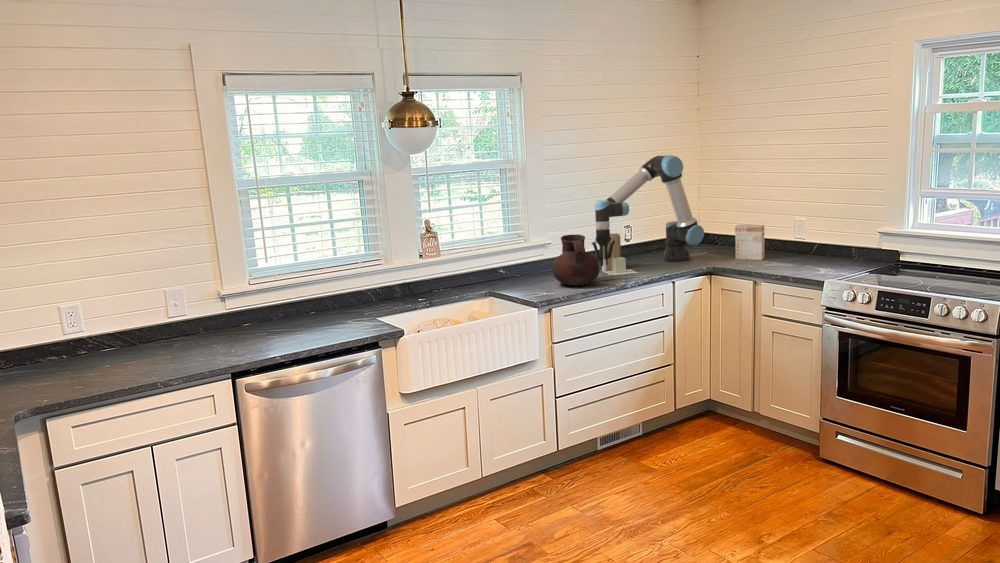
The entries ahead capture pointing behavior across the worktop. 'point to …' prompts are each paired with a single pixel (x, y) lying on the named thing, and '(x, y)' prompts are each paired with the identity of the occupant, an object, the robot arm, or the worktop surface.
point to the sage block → (618, 265)
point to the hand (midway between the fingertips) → (604, 271)
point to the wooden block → (615, 251)
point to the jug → (574, 263)
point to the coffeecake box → (749, 242)
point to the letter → (621, 273)
